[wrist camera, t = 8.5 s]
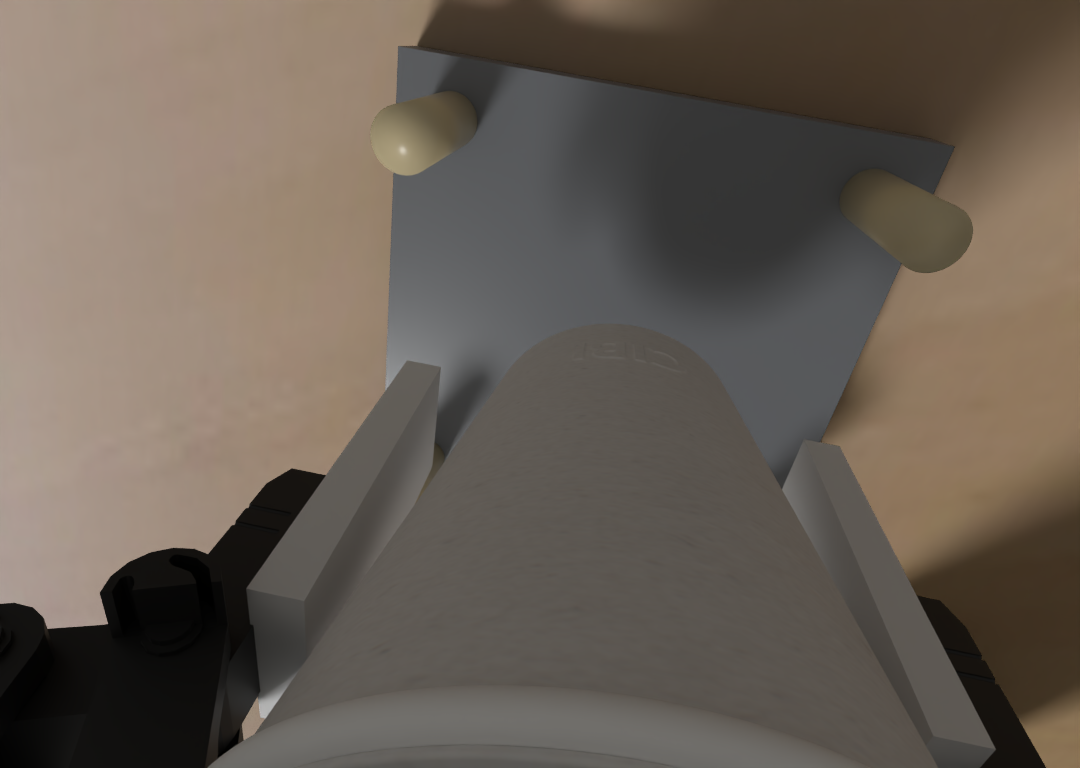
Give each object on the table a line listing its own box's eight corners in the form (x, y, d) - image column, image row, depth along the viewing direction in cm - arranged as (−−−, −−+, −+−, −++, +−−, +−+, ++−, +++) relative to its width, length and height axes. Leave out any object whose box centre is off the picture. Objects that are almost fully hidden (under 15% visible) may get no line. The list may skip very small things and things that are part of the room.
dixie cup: (435, 237, 13) (24, 643, 4) (851, 290, 12) (1383, 888, 4) (432, 541, 17) (221, 1070, 8) (745, 592, 16) (874, 1216, 8)
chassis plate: (929, 138, 17) (1049, 177, 12) (758, 531, 23) (791, 656, 19) (416, 46, 17) (332, 47, 12) (395, 456, 24) (336, 560, 19)
